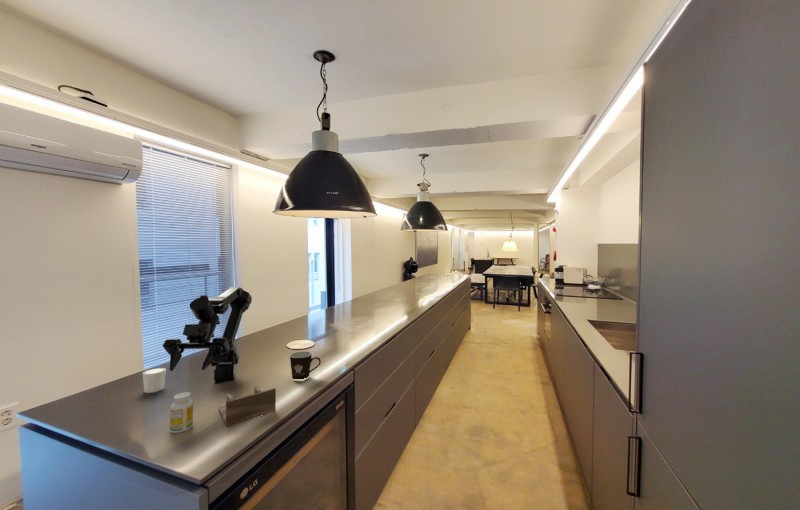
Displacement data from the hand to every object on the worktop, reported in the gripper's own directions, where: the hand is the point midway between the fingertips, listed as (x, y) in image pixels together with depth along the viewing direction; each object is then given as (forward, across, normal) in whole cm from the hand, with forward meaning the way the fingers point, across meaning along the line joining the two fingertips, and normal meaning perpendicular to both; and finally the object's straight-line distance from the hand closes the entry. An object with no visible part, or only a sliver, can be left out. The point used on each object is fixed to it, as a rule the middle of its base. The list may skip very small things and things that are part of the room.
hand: (186, 370), depth 94 cm
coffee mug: (-8, +32, +27) cm, 42 cm away
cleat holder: (+9, +18, +11) cm, 23 cm away
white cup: (-6, -22, +25) cm, 34 cm away
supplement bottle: (+15, +3, +6) cm, 16 cm away
